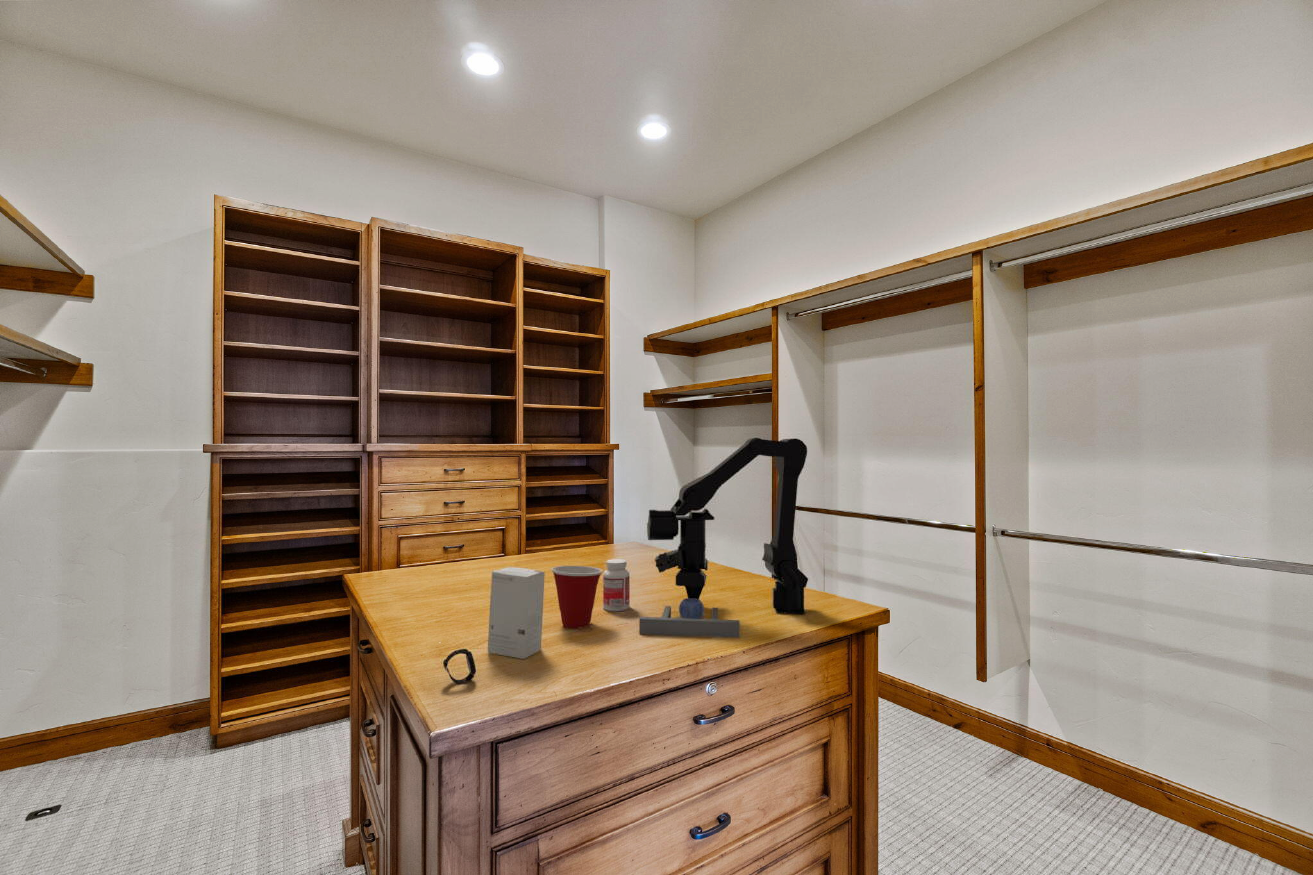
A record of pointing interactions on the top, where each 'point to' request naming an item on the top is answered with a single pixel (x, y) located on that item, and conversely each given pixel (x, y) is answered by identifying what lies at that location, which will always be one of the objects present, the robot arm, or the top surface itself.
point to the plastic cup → (576, 593)
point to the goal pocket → (689, 626)
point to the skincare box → (516, 612)
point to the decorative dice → (691, 608)
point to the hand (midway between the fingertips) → (692, 608)
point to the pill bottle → (616, 586)
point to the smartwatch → (469, 661)
